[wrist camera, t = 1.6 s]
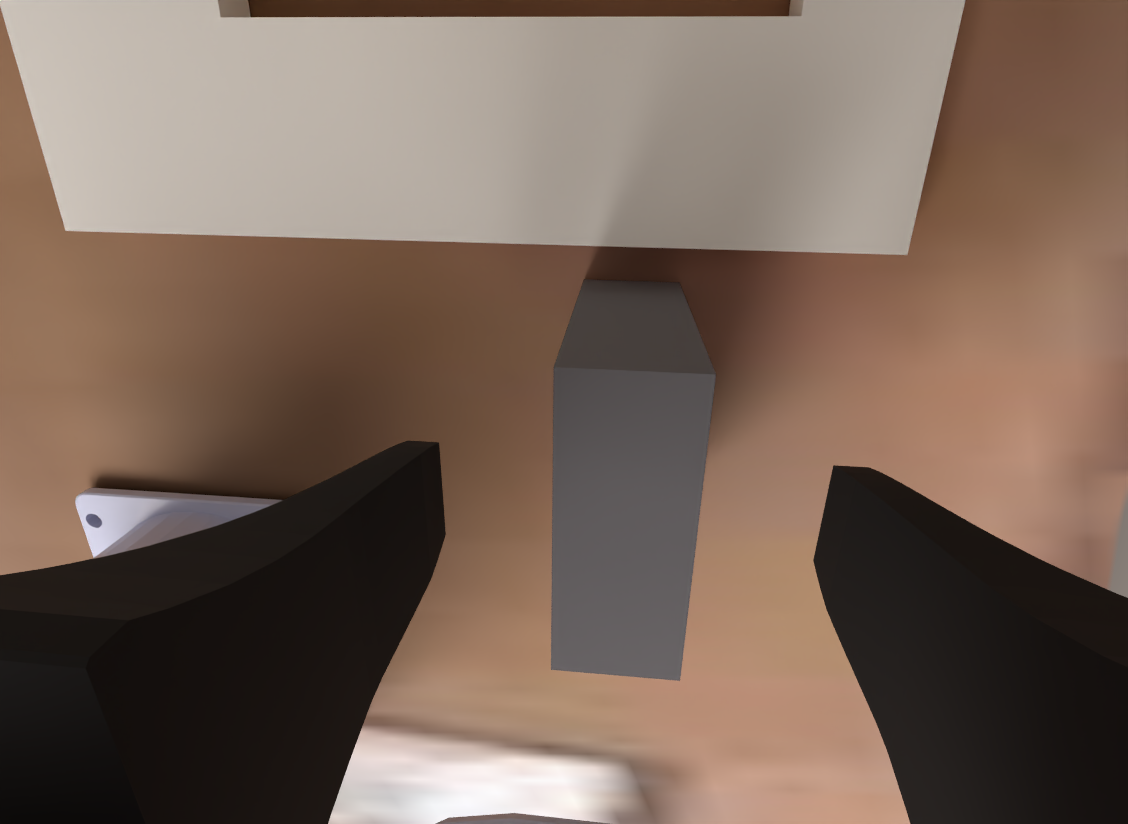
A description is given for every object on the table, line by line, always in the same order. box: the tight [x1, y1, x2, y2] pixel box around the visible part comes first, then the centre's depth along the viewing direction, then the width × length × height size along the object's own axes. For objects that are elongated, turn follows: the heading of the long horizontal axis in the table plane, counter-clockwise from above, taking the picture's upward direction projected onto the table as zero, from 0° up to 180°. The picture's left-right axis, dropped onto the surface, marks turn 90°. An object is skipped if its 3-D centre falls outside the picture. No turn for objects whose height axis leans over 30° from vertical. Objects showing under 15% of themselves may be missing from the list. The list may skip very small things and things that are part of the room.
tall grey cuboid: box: [551, 279, 716, 681], centre depth 13 cm, size 6×2×7 cm, turn 179°
